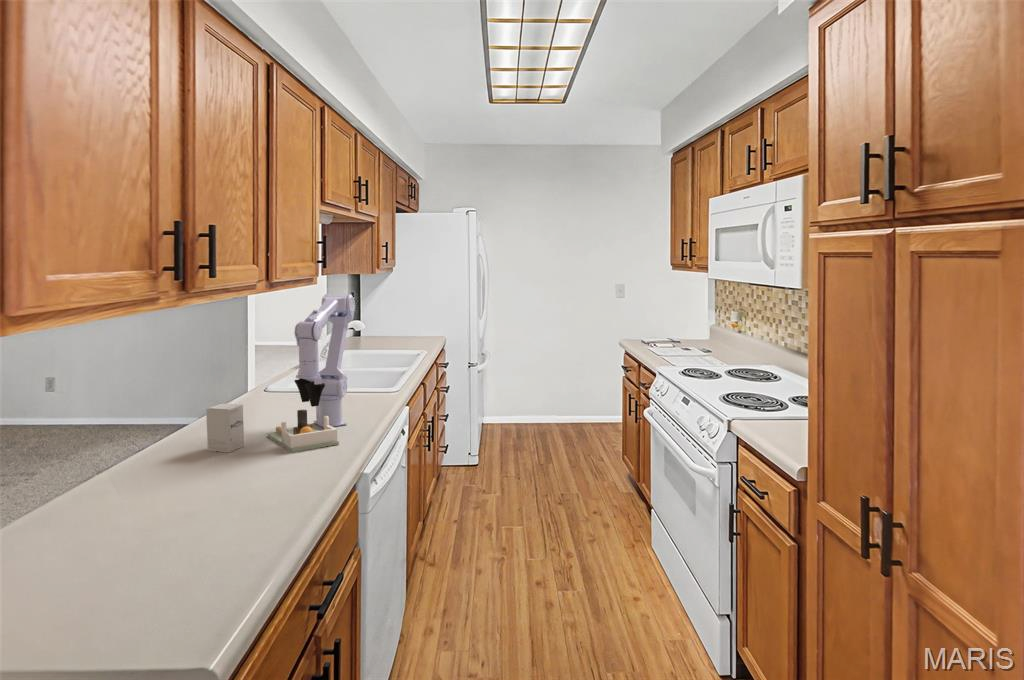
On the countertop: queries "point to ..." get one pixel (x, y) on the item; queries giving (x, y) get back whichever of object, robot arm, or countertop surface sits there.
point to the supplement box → (225, 427)
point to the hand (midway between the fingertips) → (310, 403)
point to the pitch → (305, 437)
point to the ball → (306, 430)
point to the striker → (301, 421)
